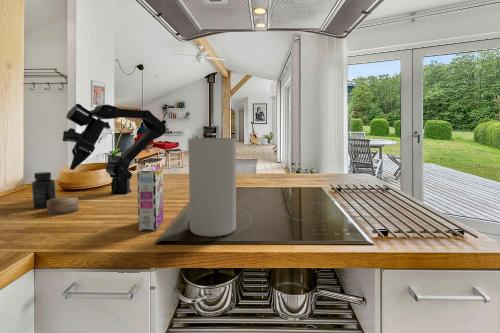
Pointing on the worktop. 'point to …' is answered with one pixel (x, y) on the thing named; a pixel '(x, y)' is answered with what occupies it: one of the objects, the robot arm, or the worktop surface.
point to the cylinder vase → (212, 186)
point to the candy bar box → (150, 198)
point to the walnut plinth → (62, 205)
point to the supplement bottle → (43, 189)
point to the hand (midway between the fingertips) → (72, 168)
